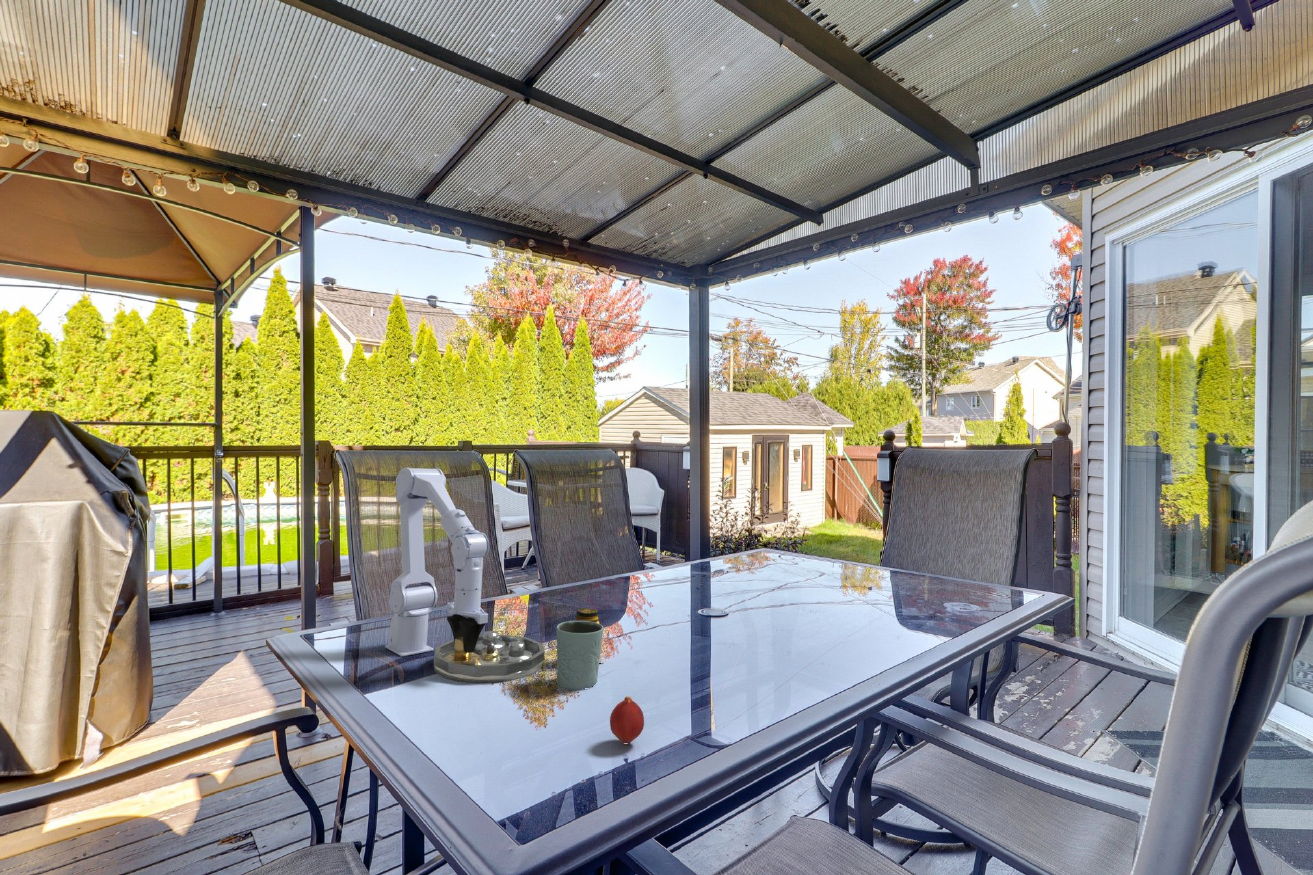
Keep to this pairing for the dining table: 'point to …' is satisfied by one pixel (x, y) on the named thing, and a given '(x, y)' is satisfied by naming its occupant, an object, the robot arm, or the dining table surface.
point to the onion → (627, 720)
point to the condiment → (587, 615)
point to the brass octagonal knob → (463, 654)
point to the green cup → (578, 654)
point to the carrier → (492, 659)
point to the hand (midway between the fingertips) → (464, 650)
